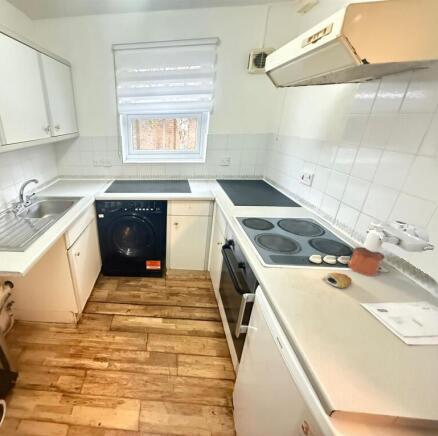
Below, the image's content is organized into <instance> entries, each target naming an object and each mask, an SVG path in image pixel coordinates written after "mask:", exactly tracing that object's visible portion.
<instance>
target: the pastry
mask: <svg viewBox="0 0 438 436" xmlns="http://www.w3.org/2000/svg"><path fill="white" fill-rule="evenodd" d="M323 279H324V282H326V283H327V284H329V285H331V286H333V287H335V288H337V289H344V288H347V287H348V286H350V284H351V283H352V278H351V277H350V276H348V275H347V274H345V273H340V272H330V273H328V274H327V275H326V276H324V277H323Z"/></svg>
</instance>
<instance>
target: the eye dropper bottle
mask: <svg viewBox="0 0 438 436" xmlns="http://www.w3.org/2000/svg"><path fill="white" fill-rule="evenodd" d="M382 224H383V223H381V222H380V224H379V225H376V226H375V229H374V230H370V231H369V233H367V236H366V238H365V240H364V242H363V245H362V247H363V248H366V249H367V250H369V251H371V252H380V249H381V248H382V245H383V243H384V242H382V241H380V240H379V239H380V237H381V236H385V235H384V233H383V232H382V231H383V229H384V226H383V225H382Z"/></svg>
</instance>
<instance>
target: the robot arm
mask: <svg viewBox="0 0 438 436" xmlns="http://www.w3.org/2000/svg"><path fill="white" fill-rule="evenodd" d="M380 222H381V223H383V224H382V225H383V226H384V229H383V231H382V232H383V233H384V235H385V236H381V237H380V239H379V240H380V241H382V242H383V243H388V244H393V245H395V246H396V247H398V248H400V249H403V250H404V251H406V252H409V253H421V252H423V251H426V250H433V249H434V246H433V245H430V244H429V243H428V242H429V233H428V230H427V229H426V228H425V227H423V226H424V225H421V226H420V225H418V224H417V225H416V224H413V223H412V224H411V223H407V222H403V221H400V220H392V221H388V220H387V221H386V220H377V221H375V220H374V221H373V220H372V221H370V223H369V225H368V227H367V228H366V230H365V233H366V234H368V233H369V231H370V230H374V229H375V226H376V225H379V224H380Z"/></svg>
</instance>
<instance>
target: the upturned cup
mask: <svg viewBox="0 0 438 436" xmlns="http://www.w3.org/2000/svg"><path fill="white" fill-rule="evenodd" d="M384 259H385V255H384V254H383V253H382V252H380V251H379V252H371V251H369V250H367V249H366V248H365V247H364V246H358V247H355V248H354V250H353V252H352V256H351V258H350V261H348V263H347V266H348V268H349V269H350V270H352V271H354V272H356V273H358V274H361V275H365V276H370V277H374V276H377V275H378V274H379V269H380V267H381V264H382V263H383V260H384Z"/></svg>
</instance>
